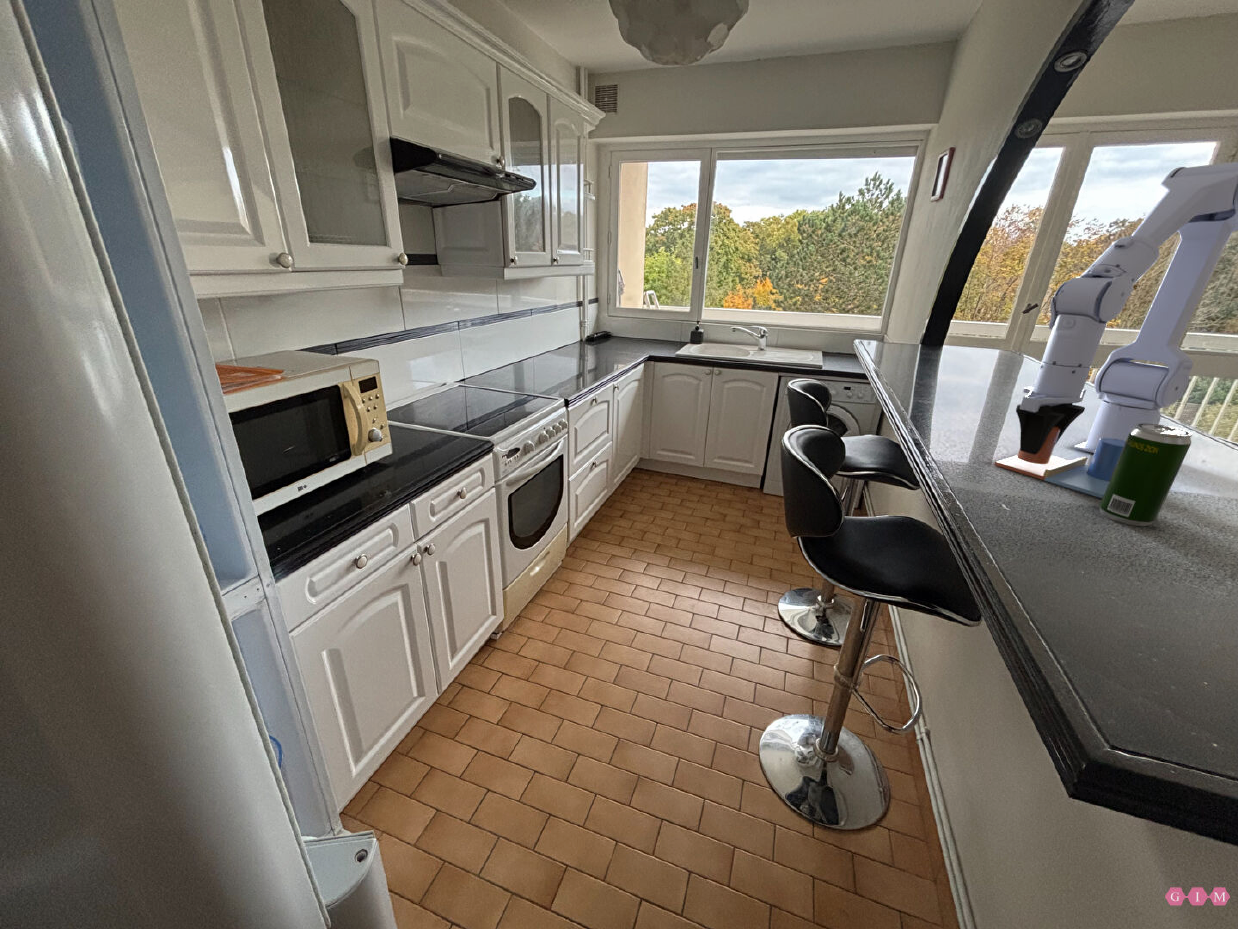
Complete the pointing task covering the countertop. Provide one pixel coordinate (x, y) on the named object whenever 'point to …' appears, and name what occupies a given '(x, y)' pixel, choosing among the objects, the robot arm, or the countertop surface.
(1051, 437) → the orange cylinder
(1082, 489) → the board
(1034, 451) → the robot arm
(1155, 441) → the green drink can
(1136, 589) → the countertop surface
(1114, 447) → the cylinder
